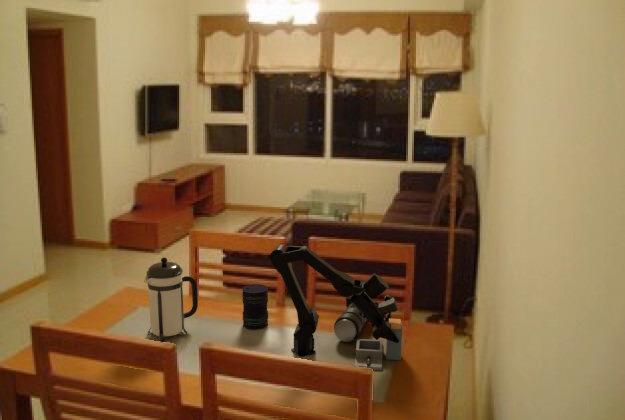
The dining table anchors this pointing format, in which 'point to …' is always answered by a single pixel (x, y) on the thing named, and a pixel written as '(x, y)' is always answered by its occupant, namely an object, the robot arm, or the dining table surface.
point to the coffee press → (168, 298)
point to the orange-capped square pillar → (391, 347)
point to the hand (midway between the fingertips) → (398, 338)
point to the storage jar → (255, 306)
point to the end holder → (369, 353)
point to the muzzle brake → (349, 324)
